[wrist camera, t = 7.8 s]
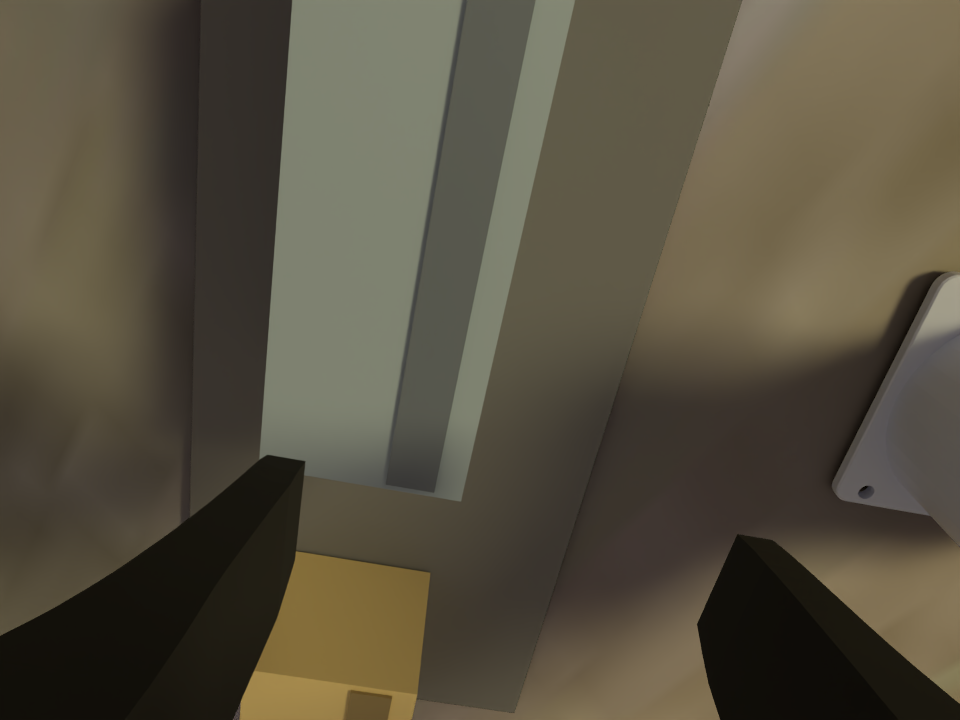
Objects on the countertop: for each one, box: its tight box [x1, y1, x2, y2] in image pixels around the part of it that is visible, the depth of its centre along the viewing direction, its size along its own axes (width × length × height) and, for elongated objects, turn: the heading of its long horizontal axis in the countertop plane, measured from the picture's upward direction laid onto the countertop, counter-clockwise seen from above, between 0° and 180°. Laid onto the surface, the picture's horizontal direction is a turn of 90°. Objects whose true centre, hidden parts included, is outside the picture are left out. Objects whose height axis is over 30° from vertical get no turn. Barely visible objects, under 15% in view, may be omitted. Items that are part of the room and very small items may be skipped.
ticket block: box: [259, 0, 575, 502], centre depth 17 cm, size 5×12×5 cm, turn 169°
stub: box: [240, 551, 430, 720], centre depth 23 cm, size 5×6×5 cm
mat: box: [190, 0, 742, 713], centre depth 22 cm, size 13×26×1 cm, turn 169°
